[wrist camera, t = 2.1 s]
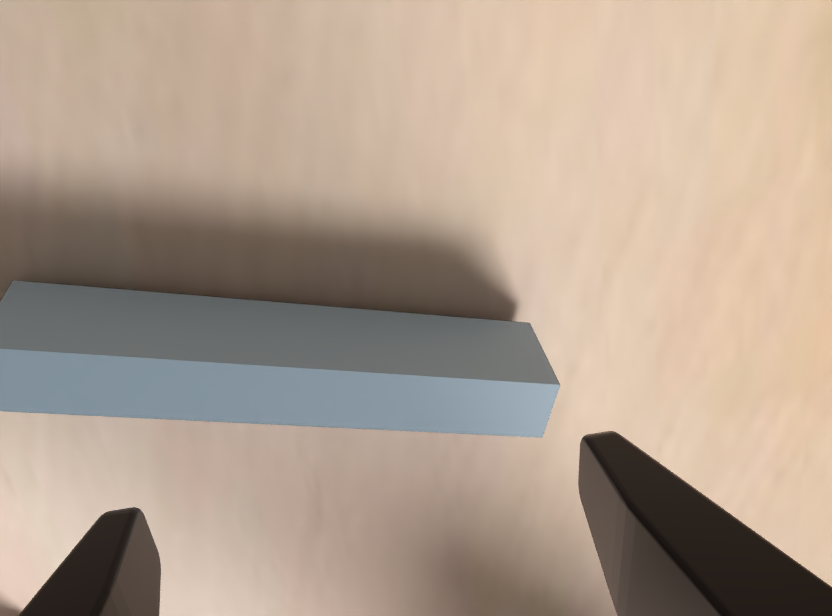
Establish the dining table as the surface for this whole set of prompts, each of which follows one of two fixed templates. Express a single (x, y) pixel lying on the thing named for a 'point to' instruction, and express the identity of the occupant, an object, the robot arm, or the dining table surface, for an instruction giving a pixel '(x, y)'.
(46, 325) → the gate
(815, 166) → the dining table surface
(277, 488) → the dining table surface
